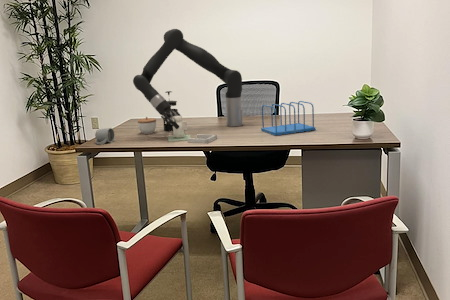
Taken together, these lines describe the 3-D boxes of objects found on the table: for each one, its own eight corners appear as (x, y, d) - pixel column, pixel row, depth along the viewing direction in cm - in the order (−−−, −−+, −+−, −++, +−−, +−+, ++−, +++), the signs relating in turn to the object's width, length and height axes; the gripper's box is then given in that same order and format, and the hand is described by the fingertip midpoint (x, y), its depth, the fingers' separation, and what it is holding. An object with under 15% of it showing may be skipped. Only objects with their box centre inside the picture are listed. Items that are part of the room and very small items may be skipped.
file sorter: (299, 126, 262) (299, 100, 259) (315, 131, 247) (315, 103, 243) (260, 131, 254) (260, 104, 250) (275, 136, 238) (274, 107, 234)
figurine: (170, 137, 241) (169, 117, 238) (176, 134, 246) (174, 115, 244) (184, 137, 238) (182, 117, 235) (189, 135, 243) (188, 115, 241)
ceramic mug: (102, 140, 248) (100, 126, 246) (115, 140, 246) (114, 126, 244) (92, 145, 238) (90, 131, 236) (105, 145, 236) (104, 131, 234)
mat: (190, 135, 249) (190, 134, 249) (191, 140, 237) (190, 139, 237) (168, 137, 248) (168, 136, 248) (168, 141, 236) (168, 140, 236)
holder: (188, 142, 233) (187, 138, 232) (197, 137, 243) (197, 134, 242) (207, 143, 228) (207, 139, 228) (216, 138, 238) (216, 134, 238)
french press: (174, 131, 262) (172, 92, 257) (160, 131, 265) (157, 92, 260) (182, 127, 273) (180, 90, 268) (168, 127, 276) (165, 90, 271)
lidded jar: (148, 130, 270) (147, 115, 268) (160, 132, 264) (159, 116, 261) (134, 133, 262) (133, 117, 260) (147, 135, 256) (145, 119, 253)
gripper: (157, 101, 234) (178, 124, 232) (171, 97, 247) (191, 119, 245) (149, 111, 238) (170, 134, 236) (163, 107, 250) (183, 128, 249)
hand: (181, 126), depth 240 cm, fingers closed on figurine, 6 cm apart
